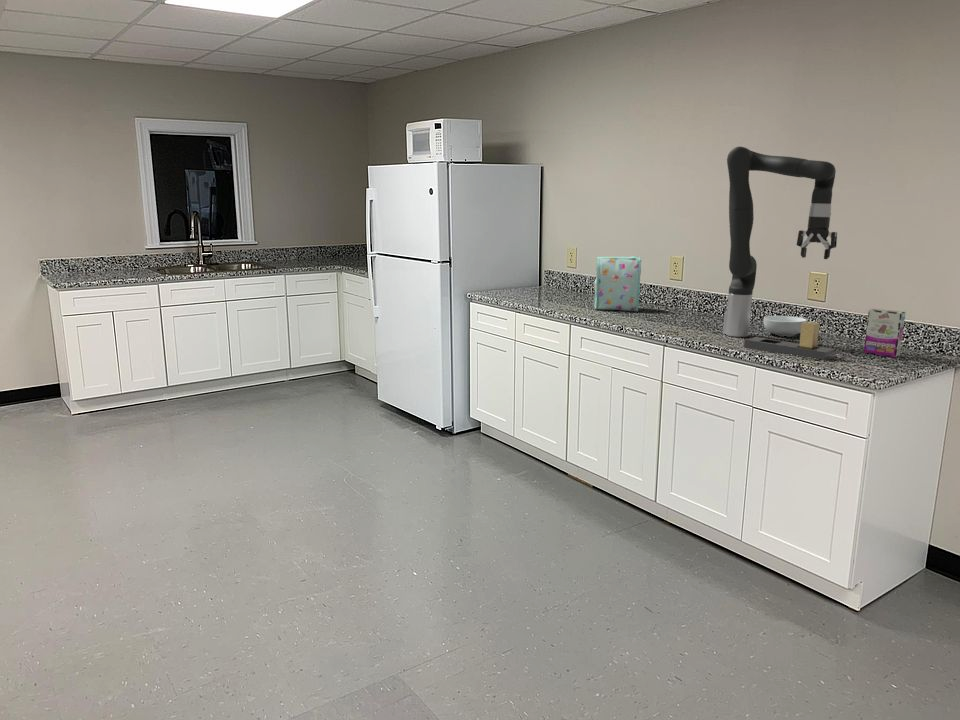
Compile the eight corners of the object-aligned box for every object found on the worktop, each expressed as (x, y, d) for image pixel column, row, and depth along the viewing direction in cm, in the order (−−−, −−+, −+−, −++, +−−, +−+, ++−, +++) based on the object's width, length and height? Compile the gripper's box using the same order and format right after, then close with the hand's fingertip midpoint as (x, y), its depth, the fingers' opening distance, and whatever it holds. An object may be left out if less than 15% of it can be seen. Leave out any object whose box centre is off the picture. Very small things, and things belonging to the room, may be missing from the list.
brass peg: (798, 355, 267) (801, 322, 264) (803, 353, 270) (807, 321, 267) (810, 357, 263) (814, 324, 261) (815, 355, 266) (819, 322, 264)
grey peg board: (743, 347, 279) (744, 339, 278) (755, 344, 285) (755, 337, 284) (824, 360, 258) (825, 352, 257) (834, 357, 264) (835, 349, 263)
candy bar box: (900, 356, 268) (906, 311, 265) (895, 358, 265) (902, 312, 261) (867, 351, 276) (873, 308, 273) (862, 353, 273) (868, 309, 269)
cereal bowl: (770, 330, 319) (771, 314, 318) (810, 335, 309) (812, 318, 307) (756, 335, 306) (758, 318, 305) (797, 340, 296) (799, 323, 295)
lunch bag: (637, 307, 380) (641, 255, 374) (640, 312, 364) (643, 257, 358) (593, 306, 383) (595, 253, 377) (593, 310, 367) (595, 256, 362)
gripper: (796, 215, 284) (792, 257, 288) (834, 216, 274) (829, 260, 278) (805, 215, 289) (800, 256, 293) (842, 216, 279) (837, 259, 283)
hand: (814, 258), depth 285 cm, fingers open, 8 cm apart
